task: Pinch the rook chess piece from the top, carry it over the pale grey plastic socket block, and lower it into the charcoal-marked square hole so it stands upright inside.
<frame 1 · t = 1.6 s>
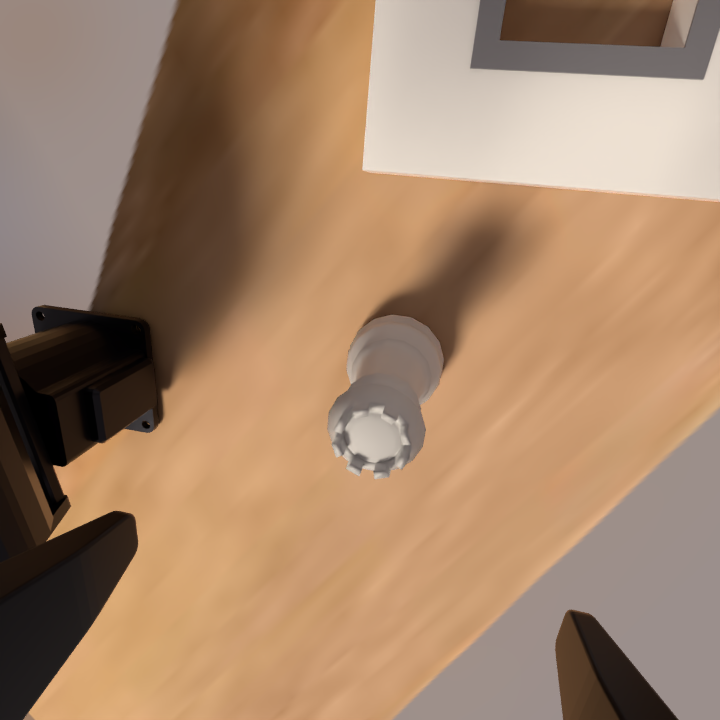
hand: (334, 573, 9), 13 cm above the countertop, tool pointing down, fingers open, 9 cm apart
rook chess piece: (396, 356, 21), on the countertop
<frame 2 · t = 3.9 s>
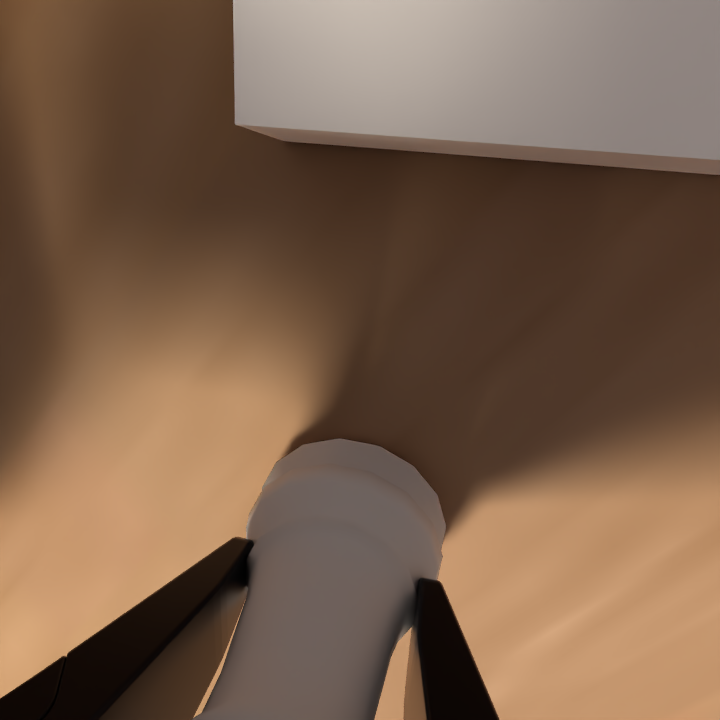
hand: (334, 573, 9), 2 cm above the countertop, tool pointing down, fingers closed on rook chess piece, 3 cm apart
rook chess piece: (355, 502, 11), on the countertop, touching gripper
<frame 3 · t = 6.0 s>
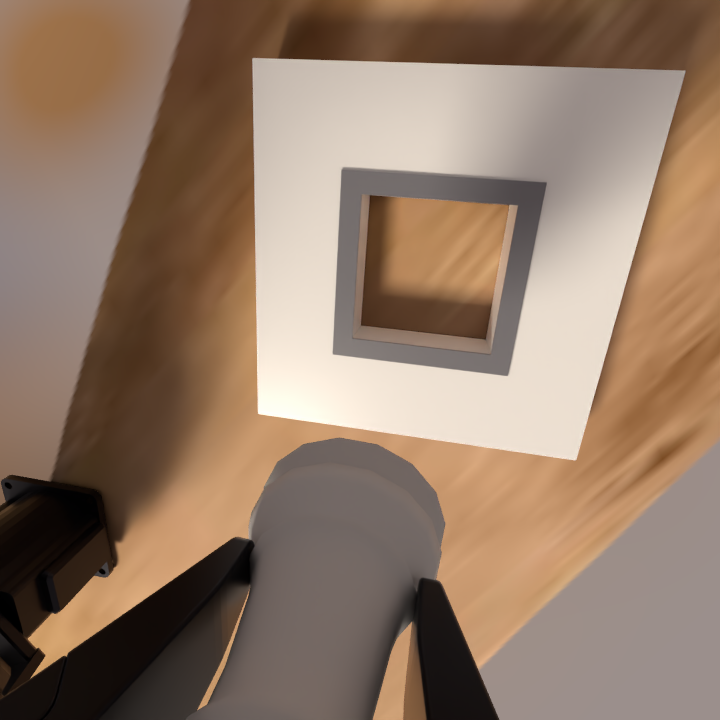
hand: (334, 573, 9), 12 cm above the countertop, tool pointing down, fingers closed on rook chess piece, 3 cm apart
socket block: (429, 269, 19), on the countertop
rook chess piece: (355, 501, 11), point 10 cm above the countertop, touching gripper
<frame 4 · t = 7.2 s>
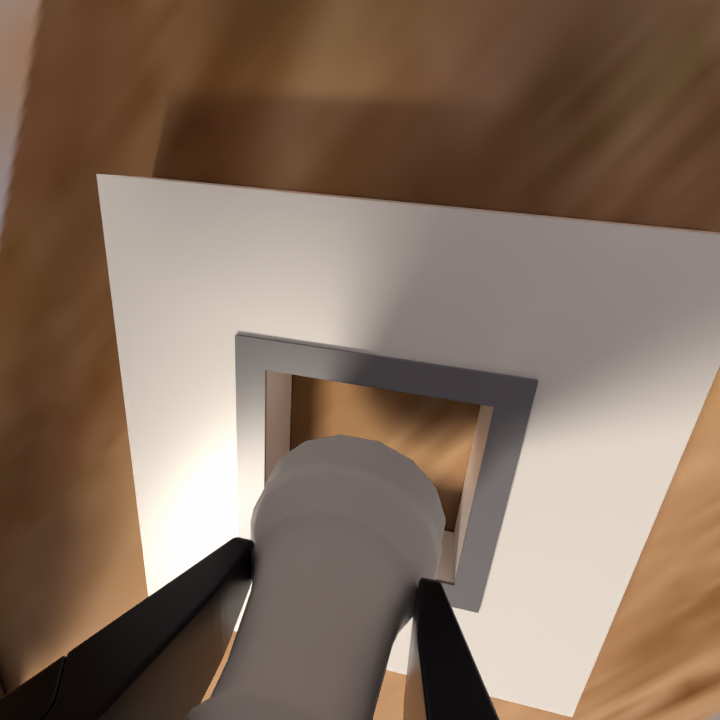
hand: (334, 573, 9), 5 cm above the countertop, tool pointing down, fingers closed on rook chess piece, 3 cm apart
socket block: (377, 442, 13), on the countertop
rook chess piece: (356, 498, 11), point 3 cm above the countertop, touching gripper
when the fingers open (3 cm above the countertop, at t = 8.3 s): rook chess piece stays where it is, resting in socket block.
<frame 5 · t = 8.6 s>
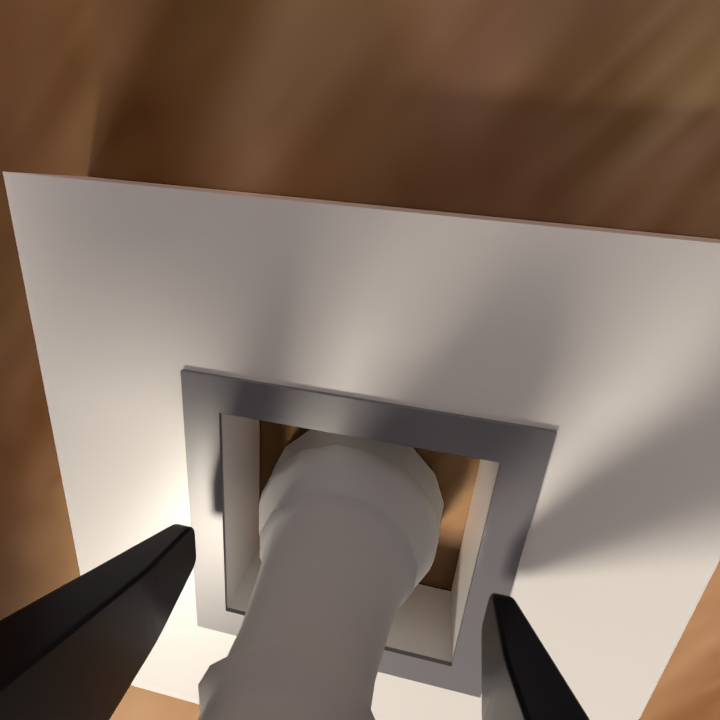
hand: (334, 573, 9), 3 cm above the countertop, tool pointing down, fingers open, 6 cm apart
socket block: (360, 488, 11), on the countertop
rook chess piece: (359, 485, 12), resting in socket block
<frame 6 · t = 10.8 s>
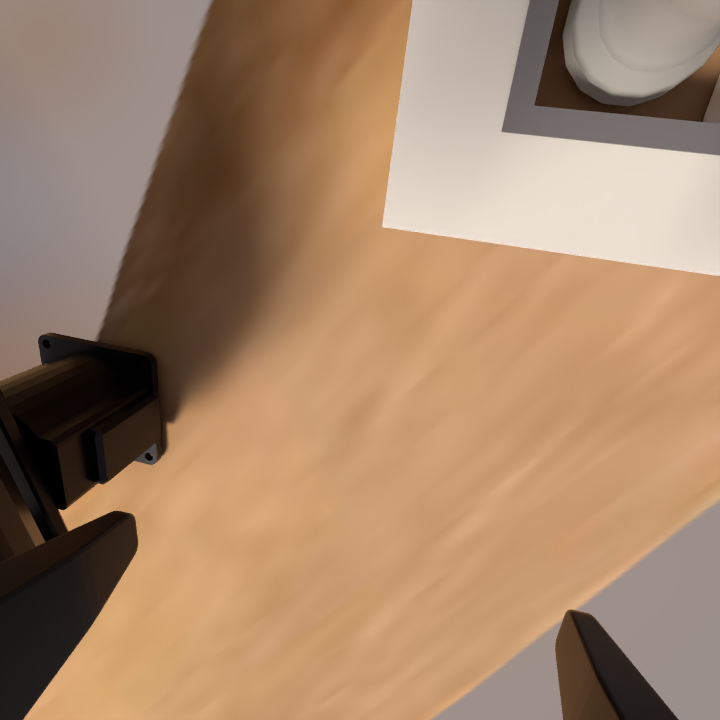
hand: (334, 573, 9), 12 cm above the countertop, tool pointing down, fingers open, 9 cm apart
socket block: (637, 27, 14), on the countertop
rook chess piece: (631, 32, 14), resting in socket block
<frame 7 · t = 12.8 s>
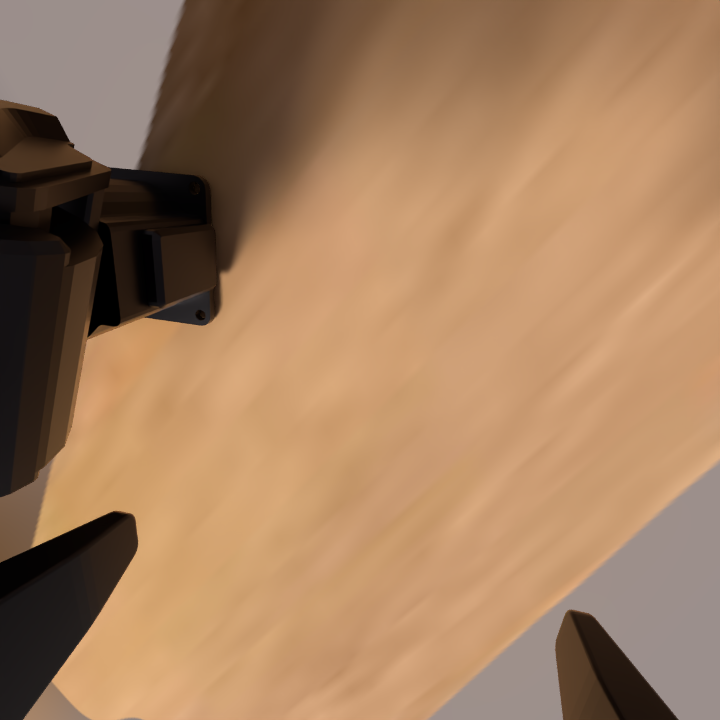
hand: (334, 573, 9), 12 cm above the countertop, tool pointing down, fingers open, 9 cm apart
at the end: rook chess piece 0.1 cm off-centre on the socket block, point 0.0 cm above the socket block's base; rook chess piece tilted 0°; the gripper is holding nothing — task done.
